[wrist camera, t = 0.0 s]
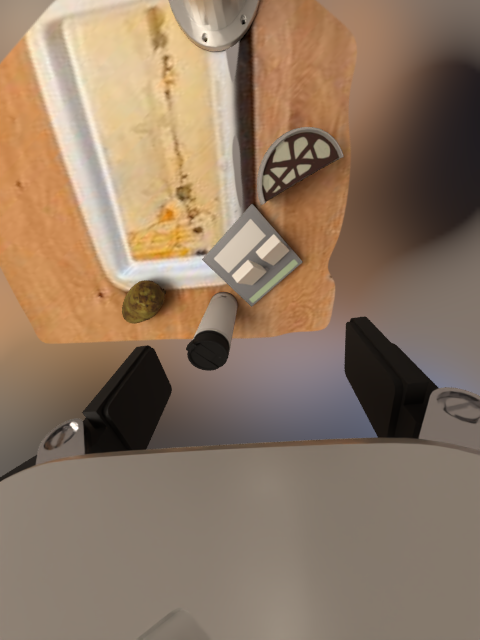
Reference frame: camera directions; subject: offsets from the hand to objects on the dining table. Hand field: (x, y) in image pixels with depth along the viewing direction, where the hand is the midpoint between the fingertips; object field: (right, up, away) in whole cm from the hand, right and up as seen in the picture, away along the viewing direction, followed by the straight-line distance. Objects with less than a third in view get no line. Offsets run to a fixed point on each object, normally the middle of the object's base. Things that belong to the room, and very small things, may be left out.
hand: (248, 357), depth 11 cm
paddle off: (+7, +14, +30) cm, 34 cm away
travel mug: (-4, +6, +40) cm, 41 cm away
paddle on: (+3, +10, +32) cm, 34 cm away
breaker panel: (+2, +15, +34) cm, 37 cm away
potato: (-22, +7, +40) cm, 46 cm away
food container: (+7, +28, +27) cm, 40 cm away
